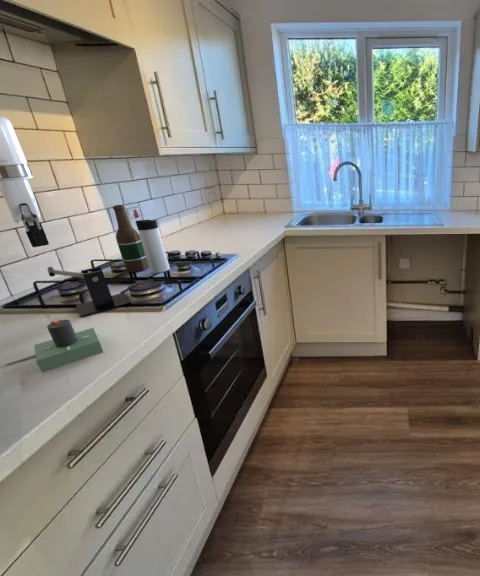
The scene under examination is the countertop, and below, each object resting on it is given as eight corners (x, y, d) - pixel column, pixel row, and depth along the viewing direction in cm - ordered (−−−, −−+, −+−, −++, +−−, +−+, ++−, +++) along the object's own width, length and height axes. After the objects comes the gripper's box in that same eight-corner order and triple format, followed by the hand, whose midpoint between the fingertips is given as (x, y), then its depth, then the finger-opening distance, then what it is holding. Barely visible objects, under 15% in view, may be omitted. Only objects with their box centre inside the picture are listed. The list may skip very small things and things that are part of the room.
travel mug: (146, 275, 131) (129, 221, 123) (159, 269, 137) (144, 216, 129) (162, 276, 130) (146, 221, 122) (174, 269, 136) (159, 216, 128)
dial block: (41, 372, 78) (35, 360, 77) (39, 355, 84) (34, 344, 83) (103, 351, 85) (98, 340, 83) (97, 337, 91) (93, 326, 89)
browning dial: (81, 339, 84) (73, 319, 82) (63, 348, 81) (54, 328, 79) (69, 337, 85) (61, 317, 83) (51, 346, 82) (41, 325, 80)
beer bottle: (154, 266, 139) (136, 204, 129) (134, 273, 133) (113, 208, 123) (141, 264, 142) (122, 203, 133) (121, 271, 136) (99, 206, 126)
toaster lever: (48, 278, 94) (49, 269, 93) (46, 272, 98) (48, 264, 97) (100, 284, 102) (102, 275, 101) (97, 278, 106) (99, 270, 106)
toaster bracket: (82, 320, 99) (66, 281, 95) (77, 309, 106) (62, 271, 101) (132, 306, 107) (120, 269, 102) (125, 296, 114) (113, 261, 109)
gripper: (-11, 172, 89) (19, 238, 96) (-14, 177, 78) (21, 252, 85) (29, 169, 94) (55, 233, 101) (32, 173, 83) (61, 245, 90)
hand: (39, 242), depth 93 cm, fingers open, 9 cm apart
